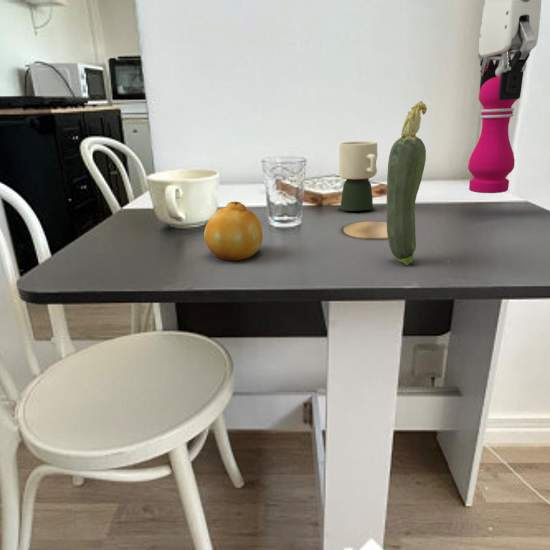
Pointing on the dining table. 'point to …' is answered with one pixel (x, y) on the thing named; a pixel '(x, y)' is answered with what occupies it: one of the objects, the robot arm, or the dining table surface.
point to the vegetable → (405, 186)
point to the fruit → (233, 232)
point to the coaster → (367, 230)
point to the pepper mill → (492, 141)
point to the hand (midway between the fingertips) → (498, 99)
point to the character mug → (357, 174)
